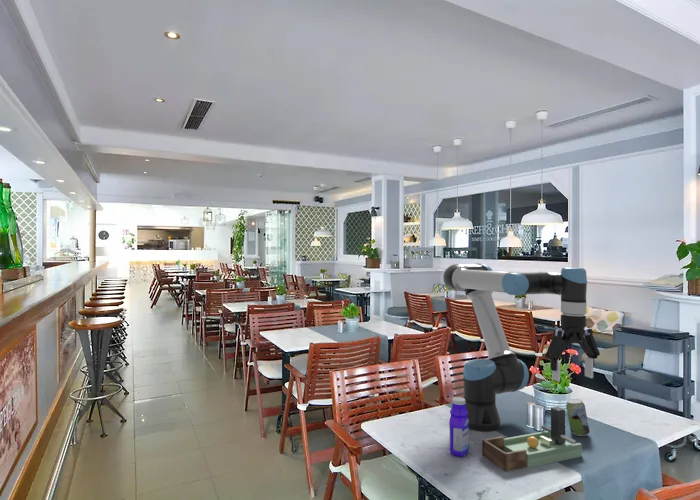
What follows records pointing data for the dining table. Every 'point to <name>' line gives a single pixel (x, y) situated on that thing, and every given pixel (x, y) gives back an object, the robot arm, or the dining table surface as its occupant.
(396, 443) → the dining table surface
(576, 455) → the pitch
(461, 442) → the bottle
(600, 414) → the dining table surface
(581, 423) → the beverage can
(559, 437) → the kicker
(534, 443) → the ball
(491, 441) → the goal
